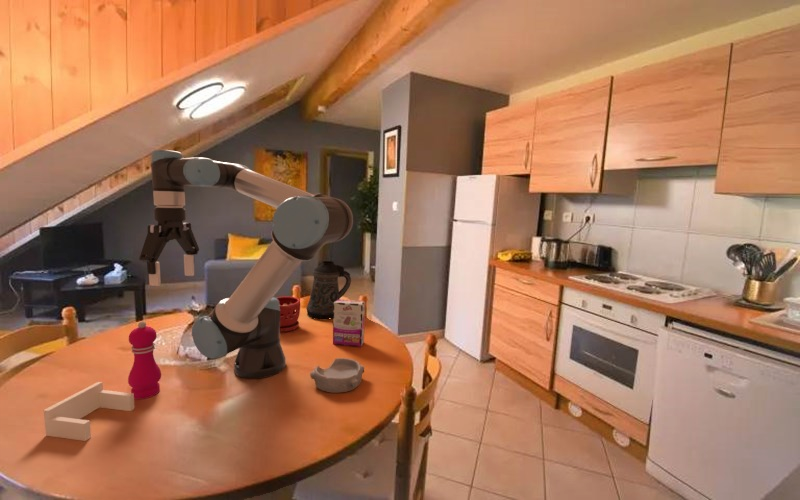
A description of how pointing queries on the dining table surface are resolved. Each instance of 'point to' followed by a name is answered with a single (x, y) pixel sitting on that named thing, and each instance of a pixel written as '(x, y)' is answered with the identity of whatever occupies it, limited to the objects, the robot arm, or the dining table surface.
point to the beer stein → (326, 289)
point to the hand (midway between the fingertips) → (173, 280)
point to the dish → (338, 376)
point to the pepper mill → (143, 363)
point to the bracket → (83, 411)
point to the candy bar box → (348, 322)
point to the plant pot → (289, 313)
